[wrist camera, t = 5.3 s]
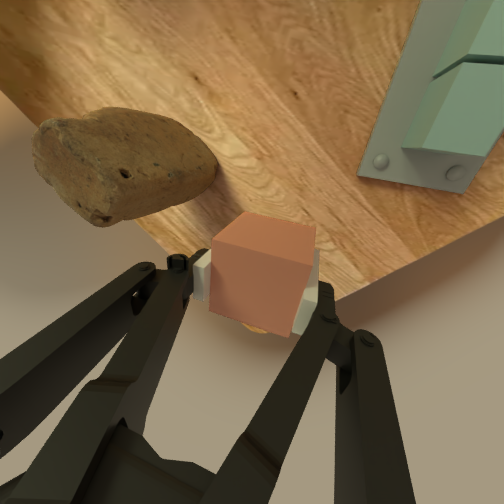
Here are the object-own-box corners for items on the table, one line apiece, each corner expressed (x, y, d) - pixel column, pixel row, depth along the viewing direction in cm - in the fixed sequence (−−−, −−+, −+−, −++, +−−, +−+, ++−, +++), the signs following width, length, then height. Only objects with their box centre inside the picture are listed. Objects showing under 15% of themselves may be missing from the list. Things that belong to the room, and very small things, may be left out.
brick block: (244, 211, 17) (211, 238, 12) (315, 227, 16) (313, 266, 11) (237, 269, 20) (208, 310, 15) (297, 286, 19) (288, 338, 14)
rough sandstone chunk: (228, 171, 33) (126, 198, 16) (200, 199, 36) (92, 244, 19) (183, 111, 31) (9, 66, 14) (158, 146, 34) (-3, 146, 17)
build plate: (445, -68, 18) (509, -181, 12) (625, -76, 15) (826, -223, 9) (355, 174, 27) (365, 181, 21) (457, 192, 25) (500, 206, 19)
